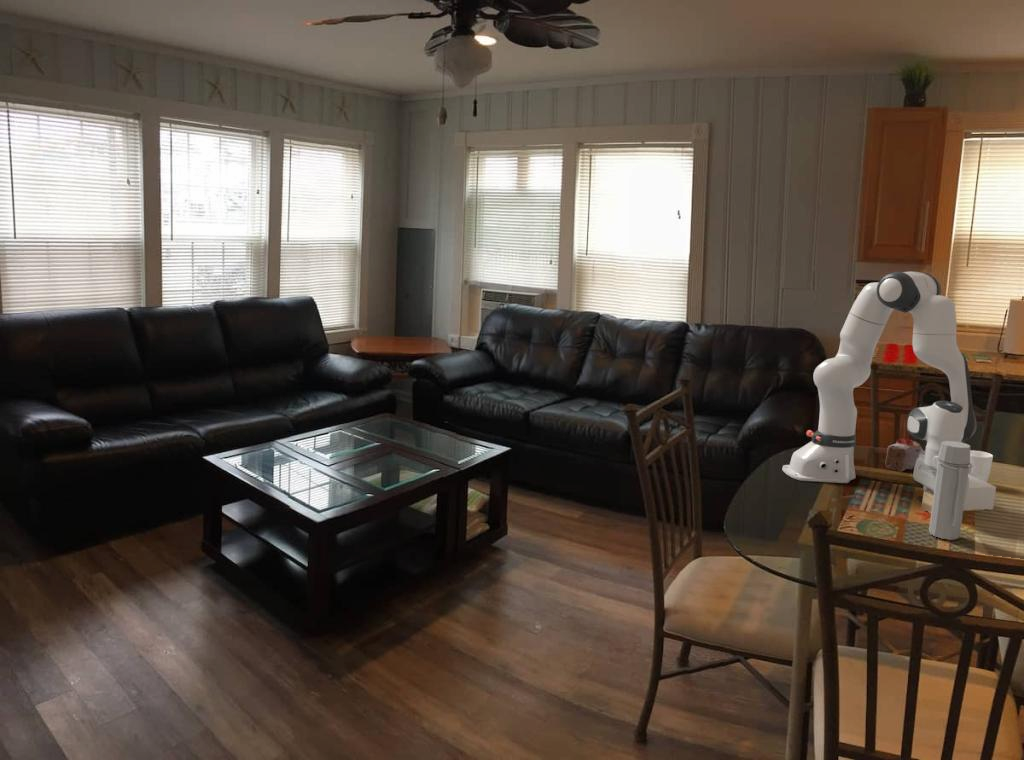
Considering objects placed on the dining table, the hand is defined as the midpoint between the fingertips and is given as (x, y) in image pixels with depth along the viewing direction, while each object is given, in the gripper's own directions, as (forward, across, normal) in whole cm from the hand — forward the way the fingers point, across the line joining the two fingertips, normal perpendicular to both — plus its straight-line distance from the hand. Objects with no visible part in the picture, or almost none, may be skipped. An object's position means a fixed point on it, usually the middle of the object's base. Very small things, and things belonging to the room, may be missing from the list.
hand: (935, 505), depth 226 cm
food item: (+2, -42, +15) cm, 45 cm away
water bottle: (+2, +19, -9) cm, 21 cm away
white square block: (+2, -7, +12) cm, 14 cm away
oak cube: (+2, 0, 0) cm, 2 cm away
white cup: (+2, -24, +28) cm, 37 cm away
